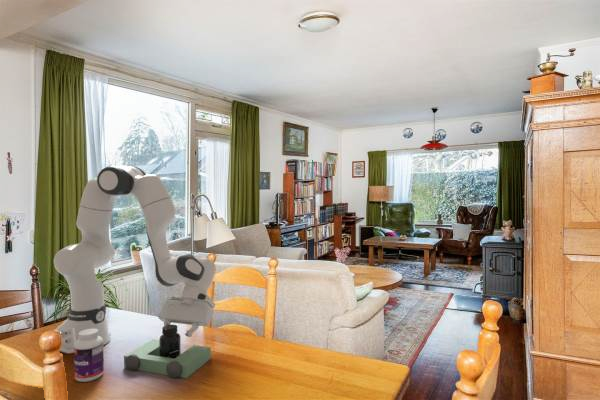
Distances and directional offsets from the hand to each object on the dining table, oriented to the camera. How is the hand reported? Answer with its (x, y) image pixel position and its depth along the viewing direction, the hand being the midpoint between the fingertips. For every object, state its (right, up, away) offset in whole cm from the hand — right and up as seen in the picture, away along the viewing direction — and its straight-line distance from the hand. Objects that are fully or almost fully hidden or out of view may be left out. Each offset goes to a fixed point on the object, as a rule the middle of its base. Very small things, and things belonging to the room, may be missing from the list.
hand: (176, 334), depth 132 cm
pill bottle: (-23, -9, -12) cm, 28 cm away
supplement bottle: (-1, -8, -3) cm, 9 cm away
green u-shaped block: (-1, -8, -4) cm, 9 cm away
